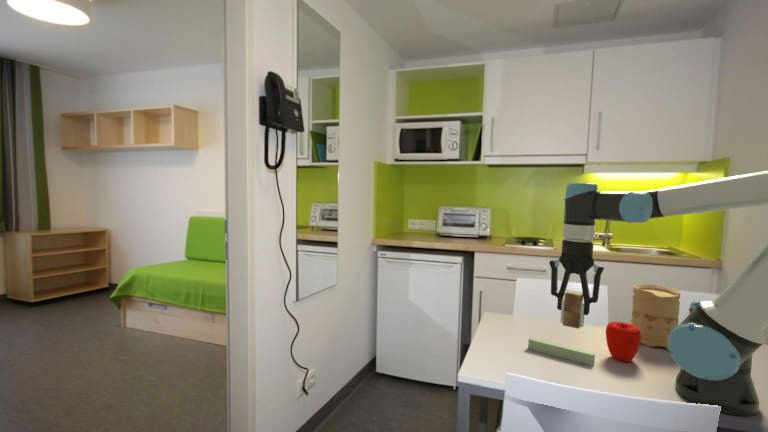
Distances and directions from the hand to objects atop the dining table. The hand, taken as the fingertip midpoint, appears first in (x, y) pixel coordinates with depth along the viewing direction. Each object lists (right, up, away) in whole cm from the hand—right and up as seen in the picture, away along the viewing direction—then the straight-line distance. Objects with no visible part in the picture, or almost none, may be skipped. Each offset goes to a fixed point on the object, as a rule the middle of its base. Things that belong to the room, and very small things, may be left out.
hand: (572, 323), depth 103 cm
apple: (+19, -13, +8) cm, 24 cm away
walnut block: (0, 0, 0) cm, 0 cm away
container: (+38, -12, +21) cm, 45 cm away
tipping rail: (+1, -12, +9) cm, 16 cm away
